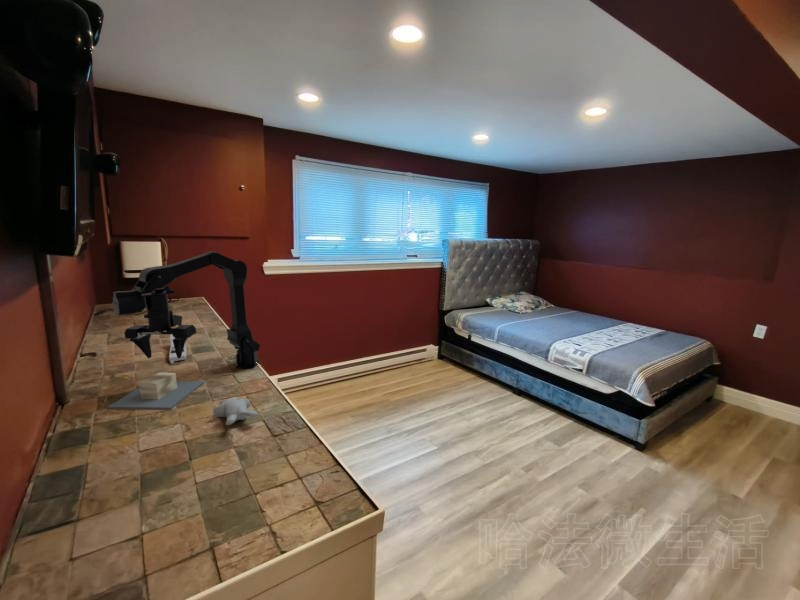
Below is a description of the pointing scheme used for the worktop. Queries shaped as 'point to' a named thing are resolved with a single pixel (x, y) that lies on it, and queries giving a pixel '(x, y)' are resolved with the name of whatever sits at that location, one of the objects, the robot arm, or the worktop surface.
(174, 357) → the mobile phone
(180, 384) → the rubber mat
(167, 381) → the card box
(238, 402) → the bunny figurine
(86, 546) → the worktop surface
